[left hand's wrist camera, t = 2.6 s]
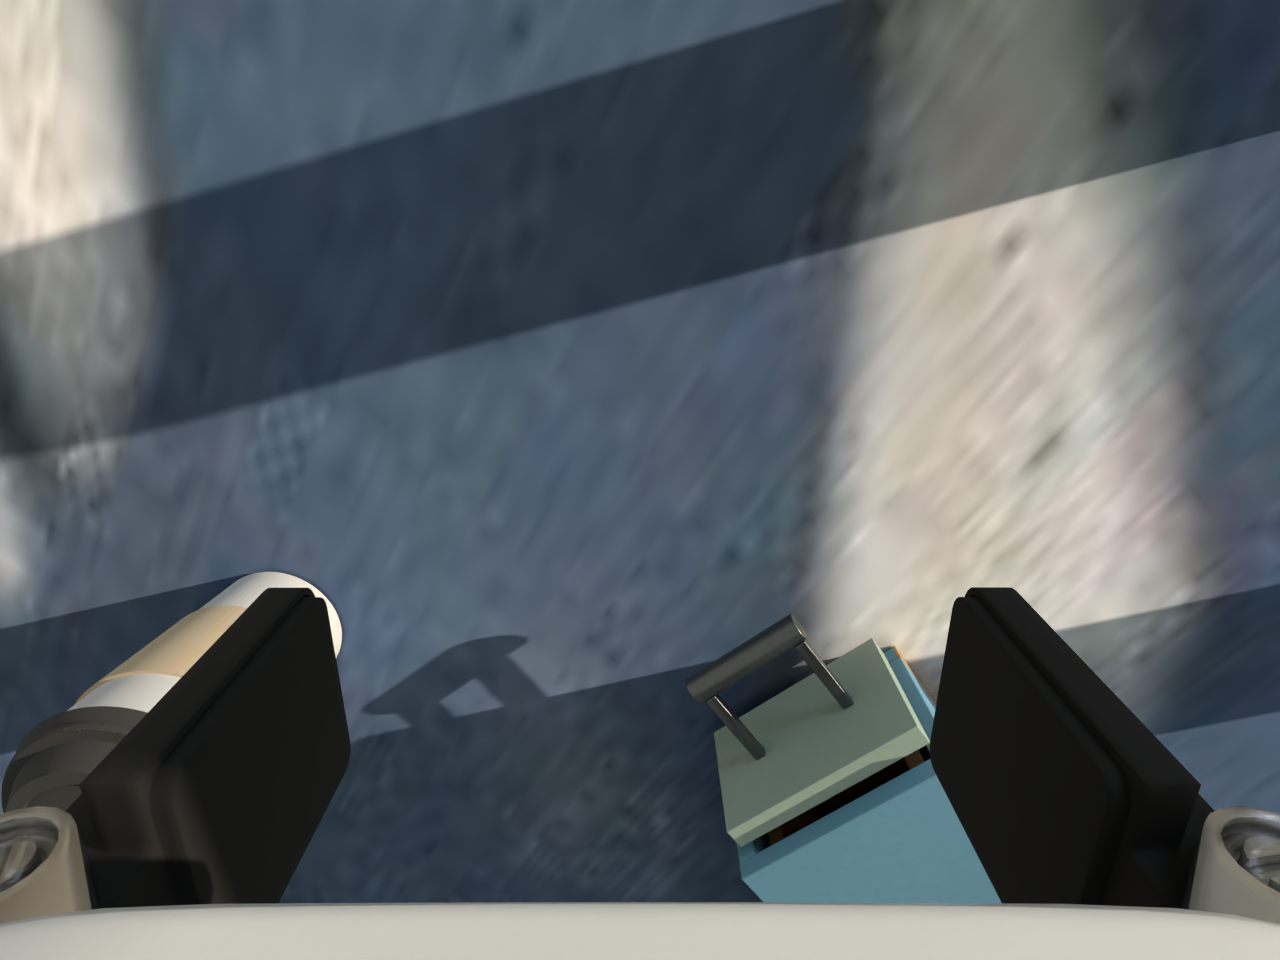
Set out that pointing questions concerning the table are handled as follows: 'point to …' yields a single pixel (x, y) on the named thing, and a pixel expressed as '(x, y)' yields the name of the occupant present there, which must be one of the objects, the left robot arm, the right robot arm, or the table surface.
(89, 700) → the coffee cup
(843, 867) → the cabinet
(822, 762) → the drawer
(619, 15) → the table surface
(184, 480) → the table surface
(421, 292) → the table surface
